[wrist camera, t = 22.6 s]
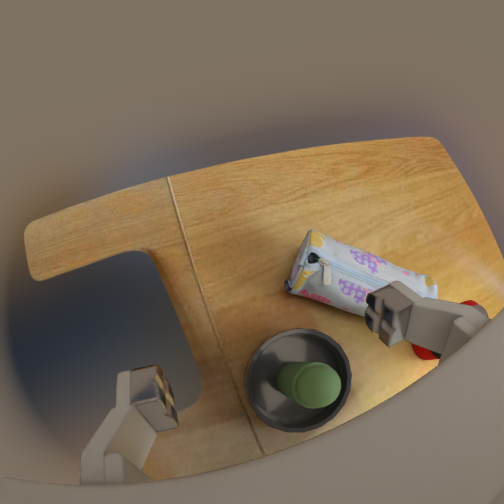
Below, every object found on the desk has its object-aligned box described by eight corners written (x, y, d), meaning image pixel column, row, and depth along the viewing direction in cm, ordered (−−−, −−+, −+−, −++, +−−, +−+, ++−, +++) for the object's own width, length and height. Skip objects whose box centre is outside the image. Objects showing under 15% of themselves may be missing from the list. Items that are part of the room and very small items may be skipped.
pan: (275, 442, 32) (280, 450, 28) (225, 362, 35) (225, 363, 31) (355, 390, 35) (367, 392, 31) (309, 314, 38) (318, 309, 35)
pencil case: (276, 295, 39) (291, 276, 30) (294, 241, 42) (312, 210, 33) (401, 337, 38) (440, 329, 29) (410, 286, 41) (446, 268, 32)
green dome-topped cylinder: (288, 404, 33) (316, 423, 22) (269, 374, 35) (289, 381, 23) (319, 384, 35) (359, 393, 23) (301, 354, 36) (335, 351, 24)
